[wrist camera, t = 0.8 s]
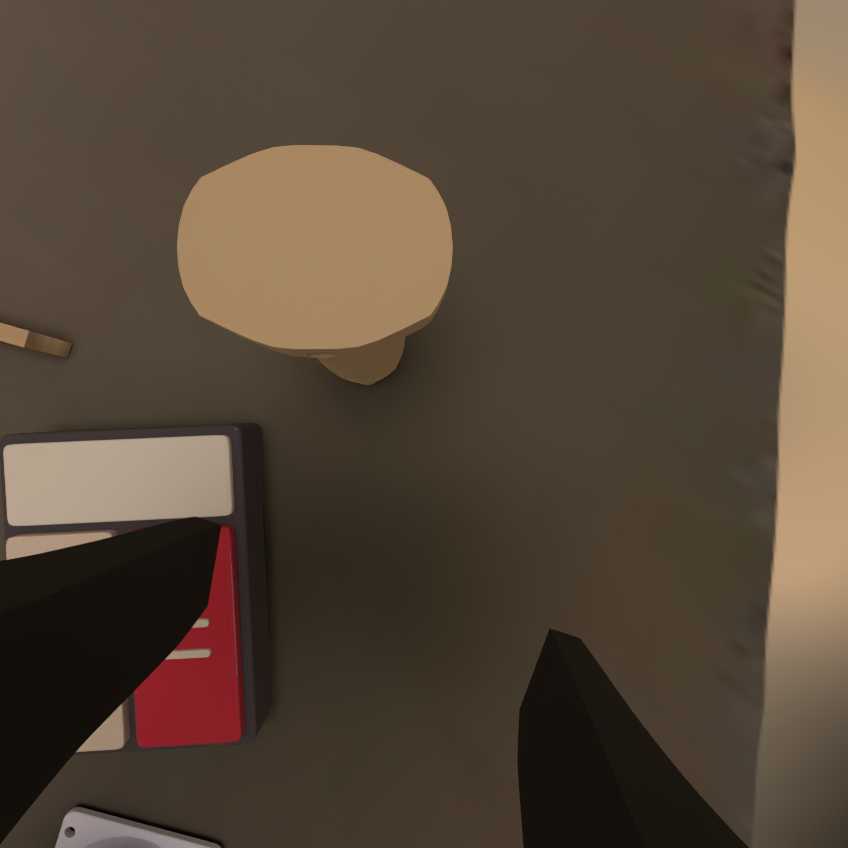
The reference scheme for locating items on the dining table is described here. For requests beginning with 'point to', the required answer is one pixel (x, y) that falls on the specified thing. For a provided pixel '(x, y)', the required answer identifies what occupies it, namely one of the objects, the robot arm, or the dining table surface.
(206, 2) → the dining table surface
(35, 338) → the box
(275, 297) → the handle
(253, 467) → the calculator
